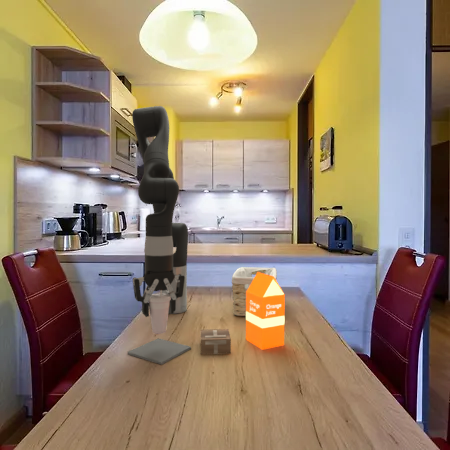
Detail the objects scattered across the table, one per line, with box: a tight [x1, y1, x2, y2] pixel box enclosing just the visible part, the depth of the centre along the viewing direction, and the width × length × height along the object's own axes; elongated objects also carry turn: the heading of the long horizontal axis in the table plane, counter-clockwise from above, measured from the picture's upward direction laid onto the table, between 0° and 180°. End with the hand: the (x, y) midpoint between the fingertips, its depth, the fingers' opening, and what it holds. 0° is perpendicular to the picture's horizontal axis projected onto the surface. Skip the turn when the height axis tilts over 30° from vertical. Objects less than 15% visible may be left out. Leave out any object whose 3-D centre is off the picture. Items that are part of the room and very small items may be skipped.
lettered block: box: [200, 328, 232, 355], centre depth 101 cm, size 8×8×4 cm
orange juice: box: [245, 272, 286, 351], centre depth 105 cm, size 8×9×20 cm
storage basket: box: [231, 266, 278, 317], centre depth 140 cm, size 24×16×15 cm
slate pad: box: [127, 337, 192, 365], centre depth 98 cm, size 12×12×1 cm
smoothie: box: [148, 290, 171, 335], centre depth 98 cm, size 6×6×14 cm
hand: (159, 314), depth 98 cm, fingers closed on smoothie, 6 cm apart
